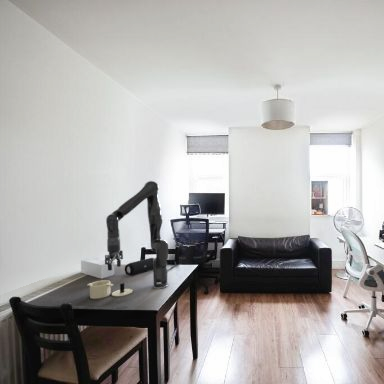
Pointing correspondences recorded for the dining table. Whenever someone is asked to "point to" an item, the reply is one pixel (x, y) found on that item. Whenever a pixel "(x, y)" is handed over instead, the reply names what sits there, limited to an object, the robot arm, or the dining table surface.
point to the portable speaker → (139, 266)
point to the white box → (96, 268)
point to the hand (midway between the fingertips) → (114, 268)
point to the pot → (100, 289)
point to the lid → (122, 291)
